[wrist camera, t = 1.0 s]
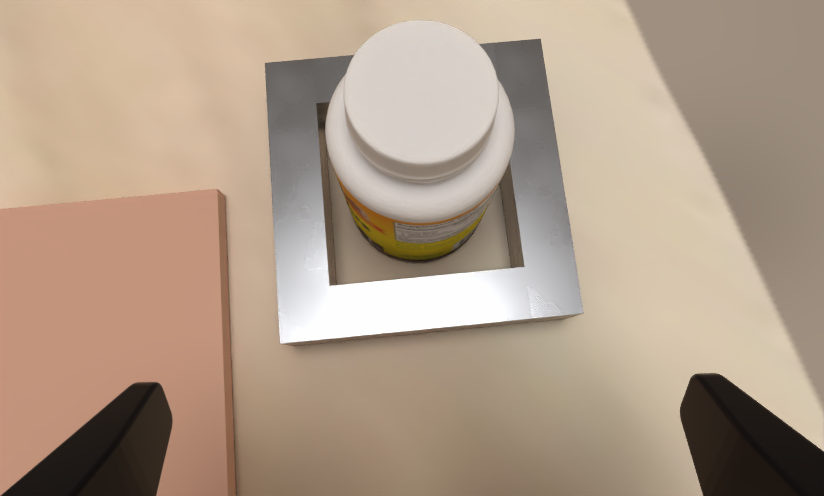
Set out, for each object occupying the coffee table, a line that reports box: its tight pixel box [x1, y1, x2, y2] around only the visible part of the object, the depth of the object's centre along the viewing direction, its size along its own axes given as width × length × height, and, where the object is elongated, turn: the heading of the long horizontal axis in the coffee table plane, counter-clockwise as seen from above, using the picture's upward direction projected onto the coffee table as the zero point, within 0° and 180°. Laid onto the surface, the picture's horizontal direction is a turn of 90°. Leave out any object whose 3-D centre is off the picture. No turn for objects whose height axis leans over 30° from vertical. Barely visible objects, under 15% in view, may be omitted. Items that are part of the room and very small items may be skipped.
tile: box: [0, 189, 236, 496], centre depth 23 cm, size 12×12×1 cm
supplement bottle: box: [325, 20, 515, 262], centre depth 20 cm, size 6×6×10 cm
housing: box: [265, 39, 584, 346], centre depth 23 cm, size 11×11×2 cm
